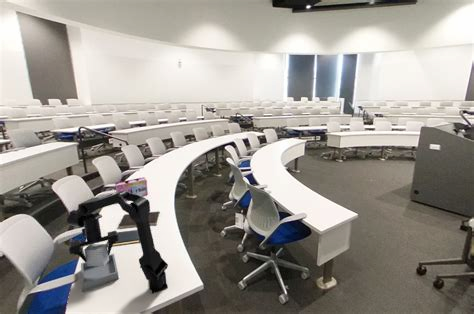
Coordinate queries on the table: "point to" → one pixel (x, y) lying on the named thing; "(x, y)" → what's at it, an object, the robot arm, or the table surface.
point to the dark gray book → (126, 238)
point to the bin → (98, 274)
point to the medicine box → (96, 255)
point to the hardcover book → (129, 222)
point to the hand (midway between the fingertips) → (97, 258)
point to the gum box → (133, 186)
